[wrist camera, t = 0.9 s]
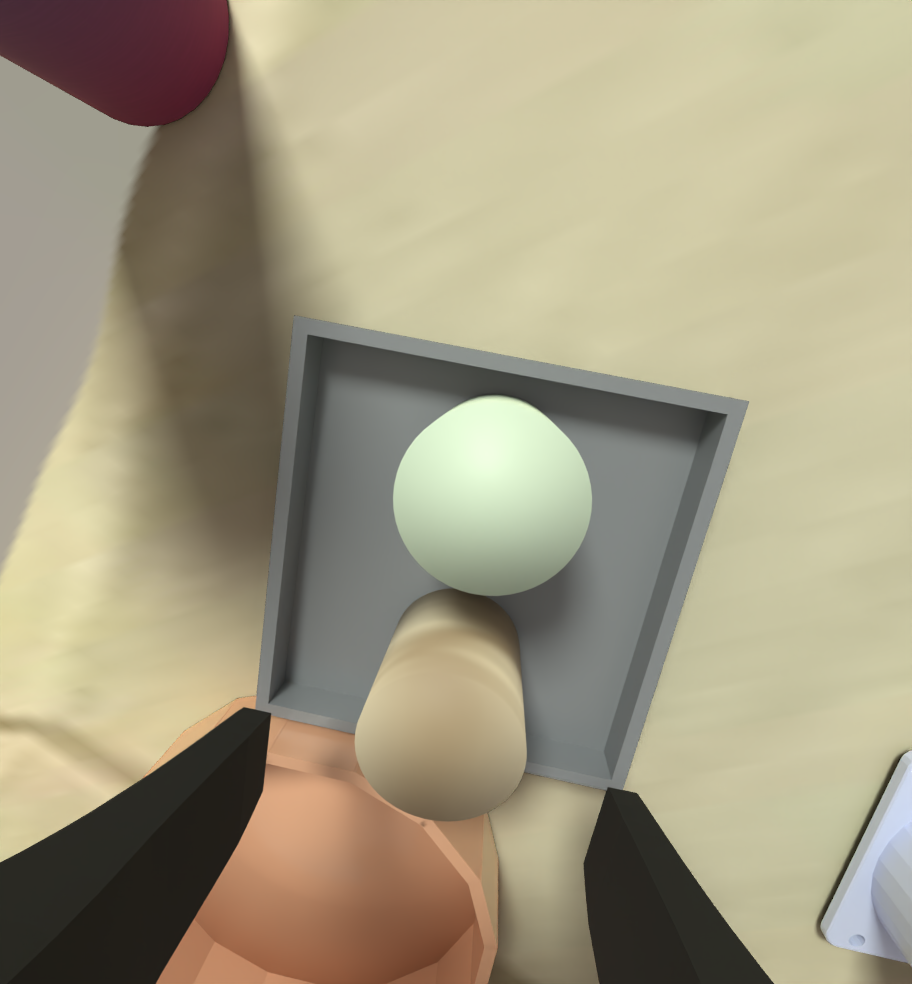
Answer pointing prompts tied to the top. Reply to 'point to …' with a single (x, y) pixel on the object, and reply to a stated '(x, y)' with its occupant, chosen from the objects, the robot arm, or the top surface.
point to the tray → (535, 612)
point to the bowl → (339, 880)
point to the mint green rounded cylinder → (492, 497)
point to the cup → (121, 52)
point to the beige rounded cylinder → (446, 710)
